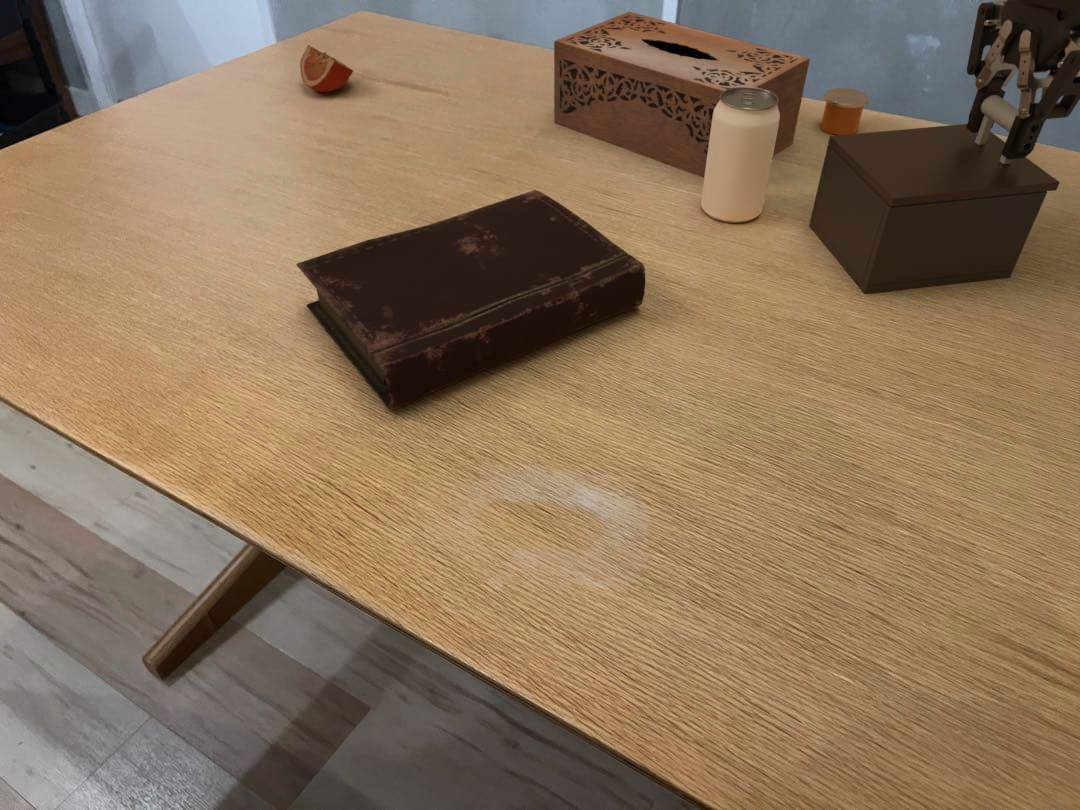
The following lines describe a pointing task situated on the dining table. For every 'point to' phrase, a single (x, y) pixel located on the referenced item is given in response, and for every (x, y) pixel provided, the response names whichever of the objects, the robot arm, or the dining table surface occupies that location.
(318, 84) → the fruit slice
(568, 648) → the dining table surface
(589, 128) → the tissue box cover
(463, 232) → the diary
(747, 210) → the can
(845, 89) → the cylinder
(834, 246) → the dark brown storage bin
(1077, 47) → the robot arm
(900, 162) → the lid
